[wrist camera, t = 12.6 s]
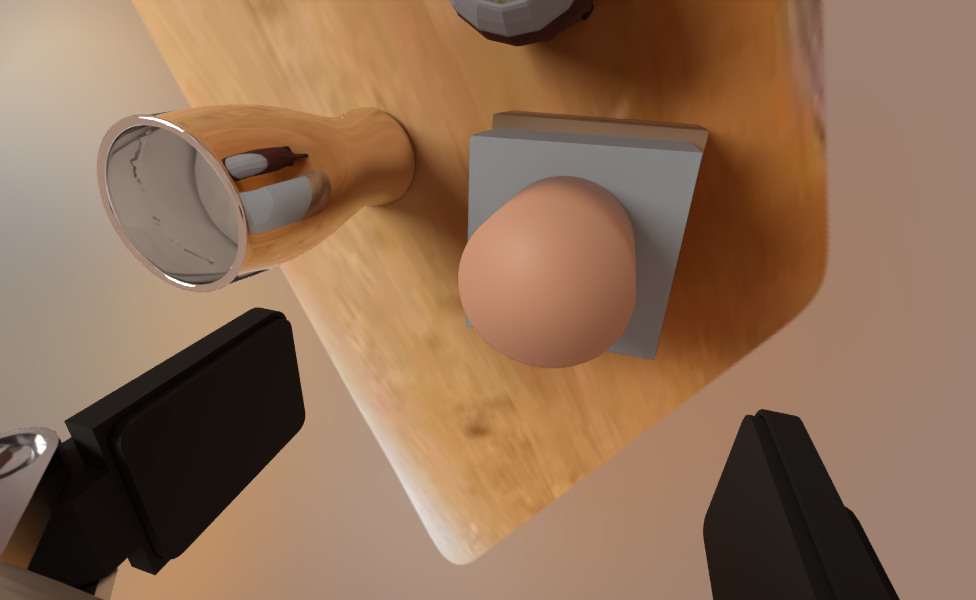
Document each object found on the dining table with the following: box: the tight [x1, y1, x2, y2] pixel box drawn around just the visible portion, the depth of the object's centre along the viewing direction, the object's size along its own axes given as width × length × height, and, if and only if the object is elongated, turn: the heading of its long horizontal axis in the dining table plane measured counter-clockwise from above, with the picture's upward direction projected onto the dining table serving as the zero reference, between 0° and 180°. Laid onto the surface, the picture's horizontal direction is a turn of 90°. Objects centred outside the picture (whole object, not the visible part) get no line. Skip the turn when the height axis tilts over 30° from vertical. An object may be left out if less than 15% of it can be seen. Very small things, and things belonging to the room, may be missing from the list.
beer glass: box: [97, 104, 415, 292], centre depth 23 cm, size 7×7×15 cm
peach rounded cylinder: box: [458, 176, 636, 368], centre depth 18 cm, size 6×6×5 cm
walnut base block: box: [493, 111, 709, 197], centre depth 26 cm, size 10×10×4 cm
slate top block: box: [466, 128, 702, 360], centre depth 22 cm, size 9×9×4 cm
